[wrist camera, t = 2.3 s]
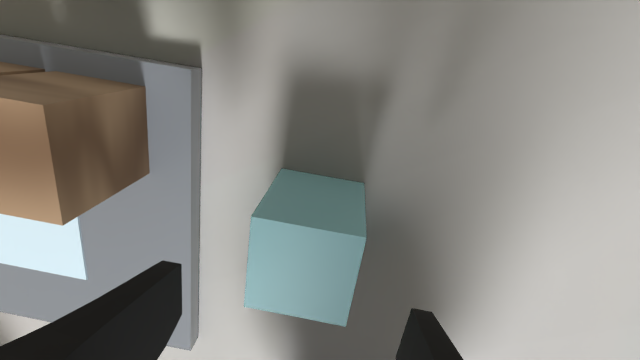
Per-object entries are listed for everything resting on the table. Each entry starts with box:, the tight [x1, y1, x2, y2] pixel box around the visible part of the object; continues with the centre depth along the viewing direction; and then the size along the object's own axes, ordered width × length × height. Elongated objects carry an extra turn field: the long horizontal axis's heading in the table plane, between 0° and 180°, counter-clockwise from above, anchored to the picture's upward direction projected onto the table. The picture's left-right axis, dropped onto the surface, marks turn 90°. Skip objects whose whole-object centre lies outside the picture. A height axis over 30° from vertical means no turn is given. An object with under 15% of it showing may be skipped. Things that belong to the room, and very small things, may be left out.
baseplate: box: [0, 34, 202, 351], centre depth 17 cm, size 16×14×1 cm
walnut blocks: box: [0, 62, 150, 226], centre depth 13 cm, size 4×8×5 cm, turn 82°
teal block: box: [244, 169, 367, 327], centre depth 14 cm, size 4×4×5 cm
